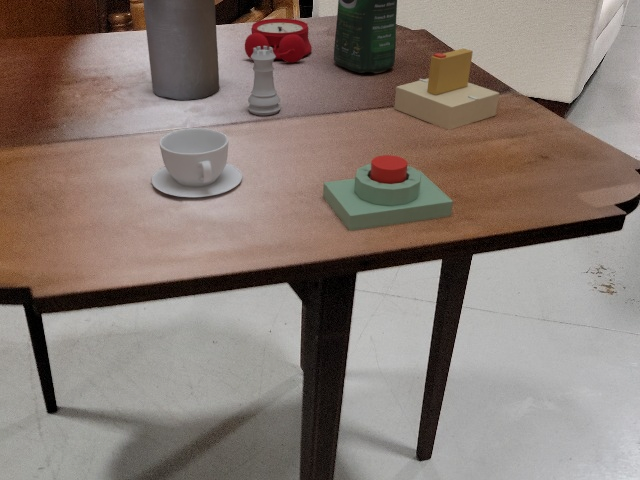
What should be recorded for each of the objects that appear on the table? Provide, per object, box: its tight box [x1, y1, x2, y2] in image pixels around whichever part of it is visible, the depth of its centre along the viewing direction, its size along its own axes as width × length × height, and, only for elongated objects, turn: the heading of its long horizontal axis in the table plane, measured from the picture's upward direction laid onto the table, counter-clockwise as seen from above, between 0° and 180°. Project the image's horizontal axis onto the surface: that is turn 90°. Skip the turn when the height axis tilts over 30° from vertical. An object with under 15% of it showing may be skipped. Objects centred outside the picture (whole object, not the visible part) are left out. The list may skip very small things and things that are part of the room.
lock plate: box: [393, 77, 500, 131], centre depth 97 cm, size 10×9×3 cm
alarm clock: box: [244, 18, 313, 64], centre depth 118 cm, size 10×6×15 cm
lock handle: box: [427, 48, 473, 95], centre depth 95 cm, size 6×2×5 cm, turn 126°
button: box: [370, 154, 409, 184], centre depth 74 cm, size 4×4×2 cm
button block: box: [322, 163, 454, 232], centre depth 75 cm, size 11×8×4 cm
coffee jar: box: [333, 0, 398, 74], centre depth 109 cm, size 10×8×19 cm
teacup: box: [151, 127, 243, 198], centre depth 80 cm, size 10×10×5 cm
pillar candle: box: [142, 0, 220, 101], centre depth 101 cm, size 10×10×15 cm
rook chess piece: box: [247, 46, 281, 117], centre depth 96 cm, size 4×4×8 cm
